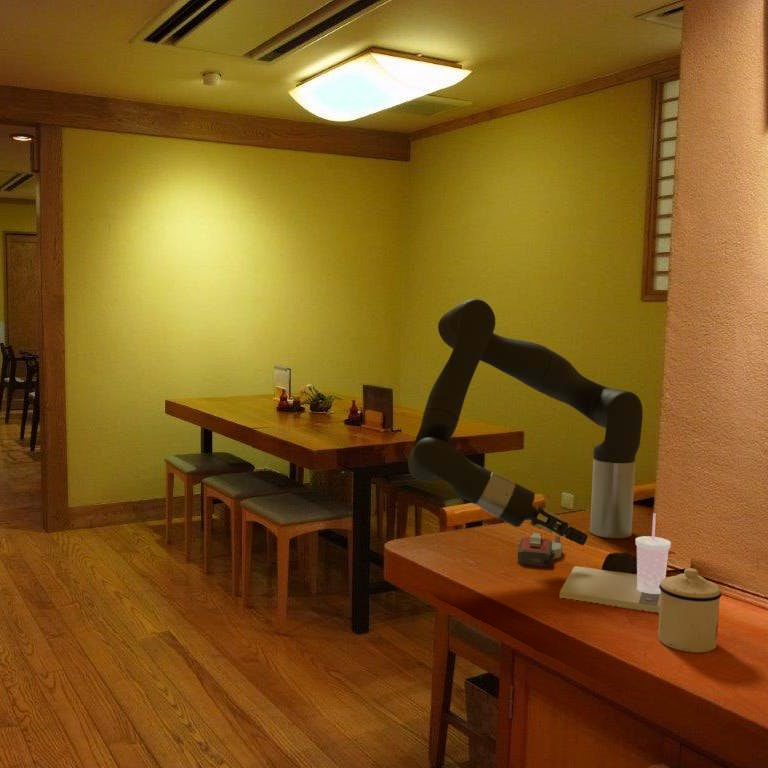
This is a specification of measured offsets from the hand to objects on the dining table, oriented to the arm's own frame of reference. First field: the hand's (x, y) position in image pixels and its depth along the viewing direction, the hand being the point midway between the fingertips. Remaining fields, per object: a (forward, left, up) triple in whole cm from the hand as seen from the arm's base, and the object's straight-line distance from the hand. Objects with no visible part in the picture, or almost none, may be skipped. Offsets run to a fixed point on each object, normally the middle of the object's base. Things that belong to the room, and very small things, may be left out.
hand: (580, 538), depth 160 cm
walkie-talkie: (-13, -10, -8) cm, 18 cm away
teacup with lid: (+23, +20, -8) cm, 31 cm away
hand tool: (-9, +12, -8) cm, 17 cm away
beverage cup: (+5, +13, -7) cm, 16 cm away
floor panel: (+5, +11, -8) cm, 14 cm away
